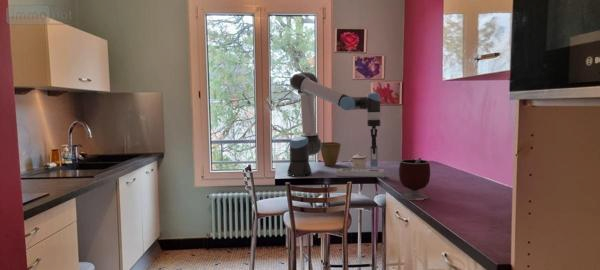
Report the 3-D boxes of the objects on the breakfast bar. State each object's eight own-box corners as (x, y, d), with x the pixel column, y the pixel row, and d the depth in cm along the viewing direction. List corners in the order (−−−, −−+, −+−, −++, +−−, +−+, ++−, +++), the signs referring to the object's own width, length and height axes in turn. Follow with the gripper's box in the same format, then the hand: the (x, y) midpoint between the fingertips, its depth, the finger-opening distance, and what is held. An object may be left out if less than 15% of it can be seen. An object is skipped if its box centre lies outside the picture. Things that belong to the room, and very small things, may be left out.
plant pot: (323, 167, 261) (323, 144, 260) (317, 164, 275) (317, 142, 274) (343, 166, 265) (343, 143, 263) (336, 163, 279) (336, 141, 278)
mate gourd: (395, 194, 182) (395, 153, 180) (424, 193, 182) (424, 152, 180) (404, 202, 166) (404, 158, 165) (435, 202, 166) (436, 157, 165)
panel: (336, 177, 224) (336, 170, 224) (337, 174, 233) (337, 168, 233) (384, 178, 219) (384, 171, 218) (383, 175, 228) (383, 169, 227)
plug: (370, 166, 222) (370, 144, 221) (370, 165, 226) (370, 143, 225) (377, 166, 221) (377, 144, 220) (377, 165, 225) (377, 143, 224)
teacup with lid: (363, 169, 252) (363, 151, 251) (368, 171, 243) (368, 153, 242) (346, 169, 250) (346, 152, 249) (350, 172, 241) (350, 154, 240)
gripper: (380, 119, 212) (380, 160, 214) (380, 118, 229) (380, 156, 231) (367, 120, 214) (367, 160, 216) (367, 118, 231) (367, 156, 232)
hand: (374, 158), depth 223 cm, fingers closed on plug, 4 cm apart
